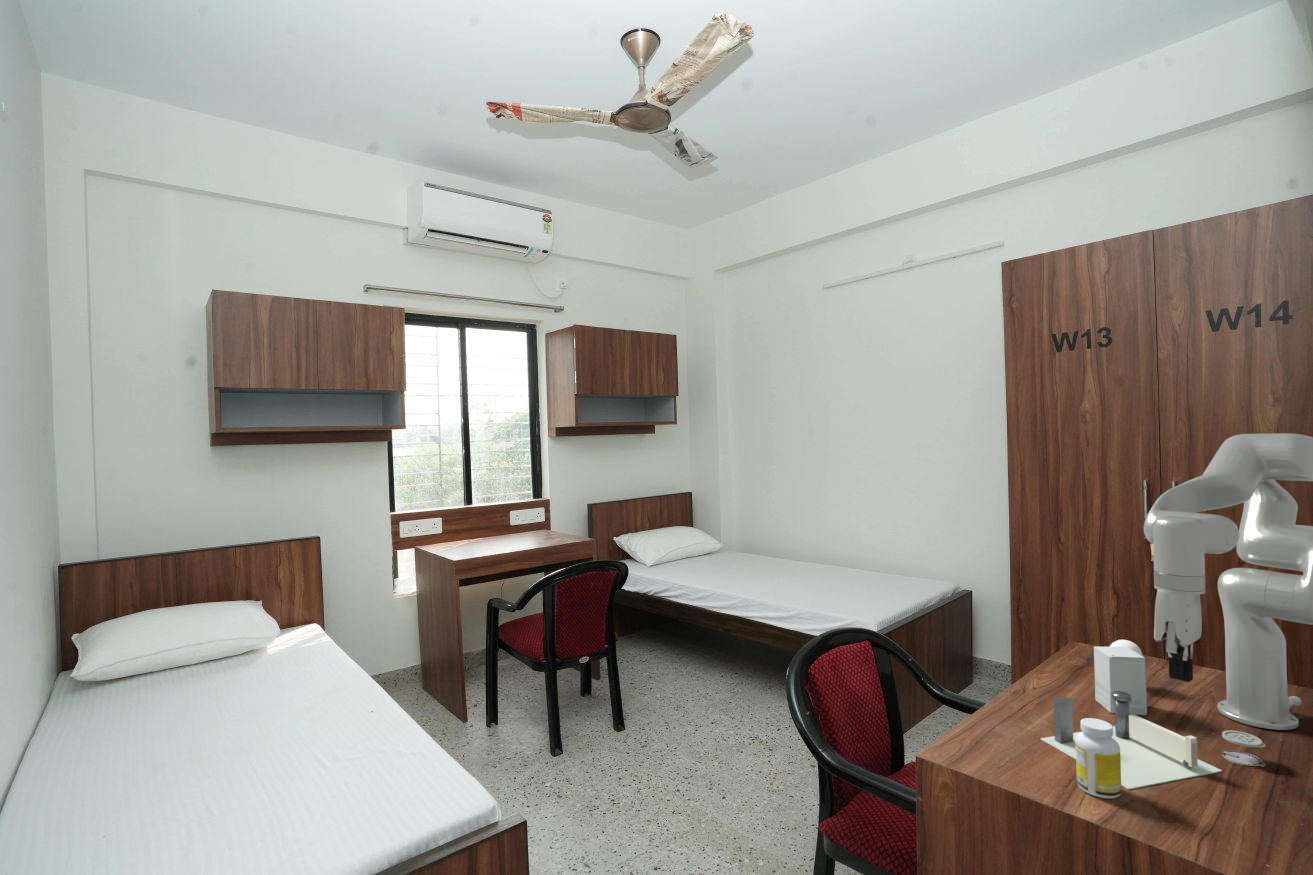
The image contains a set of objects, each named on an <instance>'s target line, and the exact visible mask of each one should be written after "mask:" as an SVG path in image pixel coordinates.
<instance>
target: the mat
mask: <svg viewBox="0 0 1313 875" xmlns="http://www.w3.org/2000/svg"><path fill="white" fill-rule="evenodd" d="M1112 726H1113V736H1112V738H1113V739H1114V740H1115V741H1117V743H1118V744H1119V746H1120V761H1121V787H1123V789H1124V788H1125V789H1126V790H1128V791H1129V790H1134V789H1140V788H1144V787H1151V786H1155V785H1159V784H1166V783H1170V782H1175V781H1181V780H1186V779H1191V778H1195V777H1202V776H1206V775H1211V774H1217V773H1222V772H1223V769H1220V768H1218V767H1216V766H1214V765H1212V764H1209V763H1207V762H1205V761H1203V760H1201V759H1199V758H1197V763H1198V766H1197V767H1193V768H1191V769H1190V768H1188V767H1186V766H1184V764H1183V763H1182V762H1180V761H1178V760H1176V759H1174V758H1172V757H1170V756H1168V755H1165V754H1163V753H1161V752H1159V751H1157V750H1155V749H1153V748H1151V747H1149V746H1147V745H1145V744H1143V743H1141V742H1139V741H1137V740H1135V739H1133V738H1131V737H1130V739H1121V738H1118V737H1117V736H1116V735H1115V725H1112ZM1081 732H1083V731H1082V730H1081V731H1076V732H1073V742H1069V743H1063V744H1060V743H1058V742H1057V741H1055V735H1053V736H1052V735H1051V736H1047V737H1041V738H1040V741H1042V742H1044V743H1046V744H1048V745H1049V746H1051V747H1053V748H1055V749H1056V750H1058V751H1060V752H1062V753H1064V754H1065V755H1067V756H1069V757H1071V758H1072V759H1074V760H1076V748H1075V738H1076V736H1077V735H1078V734H1079V733H1081Z"/></svg>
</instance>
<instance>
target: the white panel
mask: <svg viewBox="0 0 1313 875" xmlns="http://www.w3.org/2000/svg"><path fill="white" fill-rule="evenodd" d="M1129 737H1131V738H1133V739H1135V740H1137V741H1139V742H1141V743H1143V744H1145V745H1147V746H1149V747H1151V748H1153V749H1155V750H1157V751H1159V752H1161V753H1163V754H1165V755H1168V756H1170V757H1172V758H1174V759H1176V760H1178V761H1180V762H1182V763H1183V764H1184V766H1186V767H1188V768H1190V769H1191V768H1193V767H1197V766H1198V763H1197V759H1198V737H1196V736H1193V735H1192V734H1191V735H1181V734H1180V733H1177V732H1174V731H1172V730H1170V729H1168V728H1165V727H1163V726H1160V725H1159V724H1156V723H1154V722H1152V721H1150V720H1147V719H1145V718H1143V717H1141V716H1140V715H1134V714H1129Z"/></svg>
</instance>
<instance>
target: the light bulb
mask: <svg viewBox="0 0 1313 875" xmlns="http://www.w3.org/2000/svg"><path fill="white" fill-rule="evenodd" d="M1109 647H1128V648H1130V649H1132V650H1133V651H1135V652H1136V653H1138V654H1140V655H1141V656H1143V652H1142V650H1141V648H1140V647H1139V646H1138V645H1137V644H1136V643H1135V642H1133V641H1131V640H1128V639H1118V640H1117V639H1116V640H1115V641H1113V642H1112V643H1111V644H1110V645H1109Z"/></svg>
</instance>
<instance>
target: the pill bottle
mask: <svg viewBox="0 0 1313 875" xmlns="http://www.w3.org/2000/svg"><path fill="white" fill-rule="evenodd" d="M1113 726H1114V725H1112V724H1111V723H1109V721H1105V720H1102V719H1100V718H1099V719H1098V718H1093V717H1085V718H1082V719H1081V720H1080V730H1081V731H1080V732H1081V733H1079V734H1078V735H1077V736H1076V738H1075V748H1076V759H1075V763H1076V764H1075V765H1076V766H1075V767H1076V784H1077V786H1078V787H1079V788H1080V789H1081V790H1082V791H1084V792H1085V793H1087V794H1088V795H1091V796H1094V797H1098V798H1101V799H1116V798H1119V797H1120V796H1121V795H1122V786H1121V761H1120V746H1119V744H1118V743H1117V741H1115V740H1114V739H1113V738H1112V736H1113ZM1082 731H1083V732H1082Z"/></svg>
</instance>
